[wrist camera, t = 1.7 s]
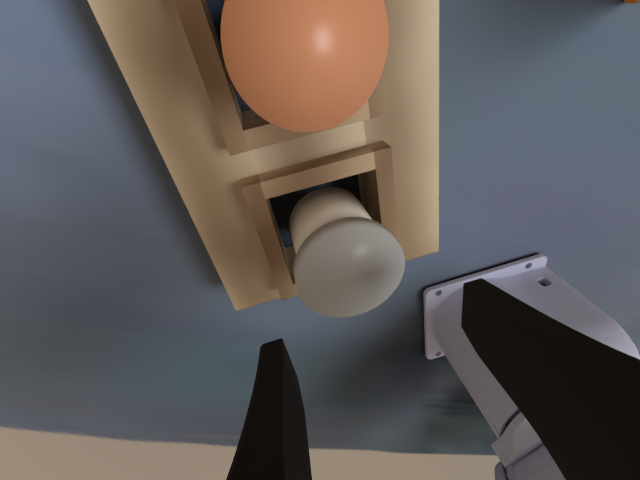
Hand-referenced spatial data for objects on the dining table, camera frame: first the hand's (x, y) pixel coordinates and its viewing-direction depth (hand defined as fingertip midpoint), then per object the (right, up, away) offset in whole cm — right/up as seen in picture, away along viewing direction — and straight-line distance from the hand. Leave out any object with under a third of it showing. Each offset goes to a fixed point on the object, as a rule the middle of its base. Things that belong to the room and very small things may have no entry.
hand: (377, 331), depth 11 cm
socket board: (-3, +8, +6) cm, 11 cm away
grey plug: (-1, +4, +6) cm, 7 cm away
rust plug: (-3, +10, +2) cm, 11 cm away
